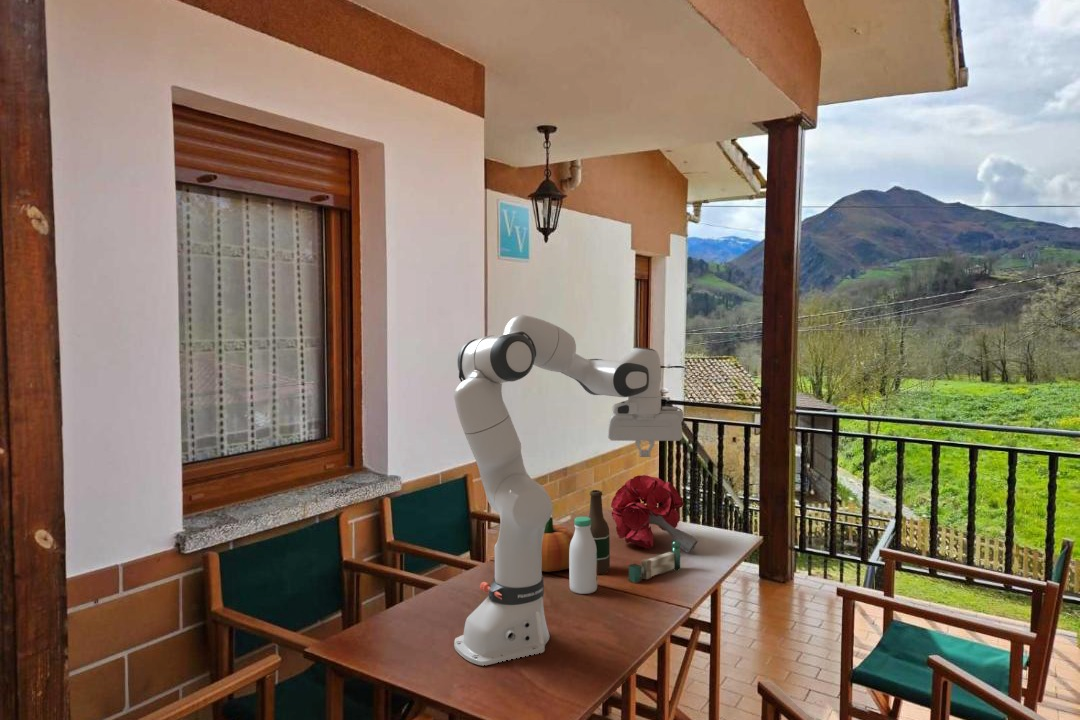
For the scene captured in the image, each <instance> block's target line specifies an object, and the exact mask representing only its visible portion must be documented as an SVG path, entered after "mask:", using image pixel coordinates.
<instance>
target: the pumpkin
mask: <svg viewBox="0 0 1080 720" xmlns="http://www.w3.org/2000/svg"><path fill="white" fill-rule="evenodd" d="M553 521H554V520H553V517H552V516H551V517H550V519H549V521H548V522H547V523H546V526H545V530H544V535H543V540H542V572H546V573H547V572H548V573H549V572H550V573H551V572H557V571H558V572H559V571H563V570H564V571H565V570H569V549H570V543H571V540H572V538H573V536H574V532H571V530H569V529H567V528H566V527H564V526H562V525H555V524H553V523H554V522H553Z"/></svg>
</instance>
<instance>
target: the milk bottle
mask: <svg viewBox="0 0 1080 720" xmlns="http://www.w3.org/2000/svg"><path fill="white" fill-rule="evenodd" d="M574 527H575V529H574V532H573V534H574V536H573V538H572V540H571V543H570V549H569V568H568V570H569V573H568V574H569V575H568V576H569V579H568V580H569V589H570V591H571V592H573V593H575V594H579V595H585V594H586V595H587V594H593V593H594V592H596V591H597V589H598V575H597V549H596V543H595V541H594V538H593V536H592V534H591V530H590V527H591V519H590V518H589V516H576V517H575V518H574Z"/></svg>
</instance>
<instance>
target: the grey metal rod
mask: <svg viewBox="0 0 1080 720" xmlns="http://www.w3.org/2000/svg"><path fill="white" fill-rule="evenodd" d="M671 570H673V571H675V570H674V569H671ZM671 570H668V571H670V572H672V571H671ZM668 571H665V572H667V573H669V572H668ZM665 572H663V574H666V573H665ZM660 575H662V574H661V573H660ZM641 579H643V580H645V579H644V578H642V576H641Z"/></svg>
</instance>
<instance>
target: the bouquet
mask: <svg viewBox="0 0 1080 720" xmlns="http://www.w3.org/2000/svg"><path fill="white" fill-rule="evenodd" d="M683 501H684V500H683V497H682V496H680V495H679V492H678V489H677V488H676V487H675V486H674V485H672V483H671V482H670V481H669V480H668V481H666V482H665V481H664V480H663V479H661V478H659V477H654V476H651V475H648V474H646V475H644V474H643V475H635V476H634V477H632V478H630V479H629V480H627V481H626V482H625V483H624V484H623V485H622V486H621V487H619V489H617V490H616V492H615V495H614V496H613V498H612V500H611V503H610V508H612V510H611V517H612V520H613V521H614V522H615V524H616V527H615V531H616V532H617V536H618V539H624V540H625V543H626V544H629V543H631V544H632V545H636V546H638V547H641V548H642V547H643V548H644V547H645V548H644V549H646V548H648V549H649V550H650V549H651V548H652V547H653V546H654V533H653V531H652V525H654V526H657V527H658V528H660V530H662V531H665V532H667V533H668V534H669V536H671V537H672V538H673V541H674V540H678V541H679V542H680V544H681V547H680V549H681V550H683V551H685V552H686V553H687V554H690V553H691V552H692V551H693V550H694V548H695V547H696V545H697V544H698V542H699V540H698V539H696V538H695V537H694V536H693V535H691V534H688V533H687V532H685V531H682V530H680V529H678V528H677V527H678V524H679V522H680V514H679V512H678V510H677V509H678V508H679V509H680V508H682V507H684V506H685V502H683ZM659 504H662V505H660V506H659ZM689 552H690V553H689Z"/></svg>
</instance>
